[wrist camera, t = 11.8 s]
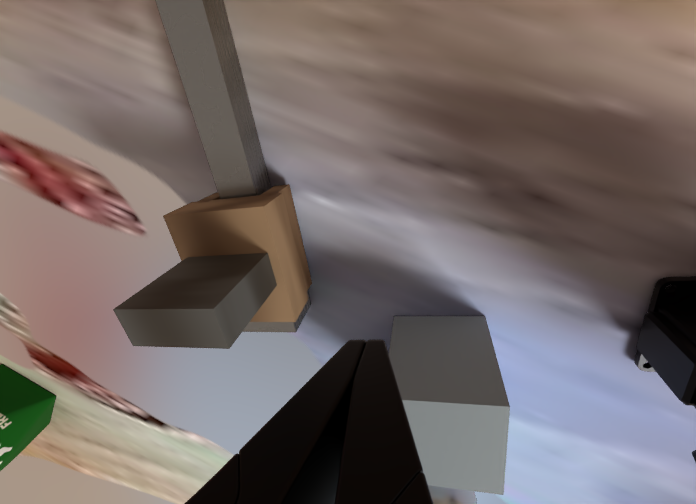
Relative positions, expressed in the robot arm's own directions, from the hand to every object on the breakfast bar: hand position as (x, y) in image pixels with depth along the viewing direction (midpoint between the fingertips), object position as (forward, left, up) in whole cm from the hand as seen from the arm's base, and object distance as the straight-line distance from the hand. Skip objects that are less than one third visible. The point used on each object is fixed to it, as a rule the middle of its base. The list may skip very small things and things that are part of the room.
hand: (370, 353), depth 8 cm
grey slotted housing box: (-2, +12, -13) cm, 18 cm away
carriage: (+9, +2, -13) cm, 16 cm away
